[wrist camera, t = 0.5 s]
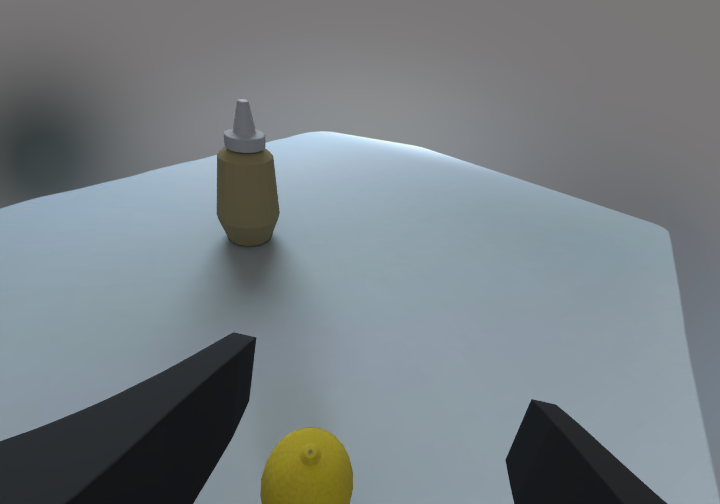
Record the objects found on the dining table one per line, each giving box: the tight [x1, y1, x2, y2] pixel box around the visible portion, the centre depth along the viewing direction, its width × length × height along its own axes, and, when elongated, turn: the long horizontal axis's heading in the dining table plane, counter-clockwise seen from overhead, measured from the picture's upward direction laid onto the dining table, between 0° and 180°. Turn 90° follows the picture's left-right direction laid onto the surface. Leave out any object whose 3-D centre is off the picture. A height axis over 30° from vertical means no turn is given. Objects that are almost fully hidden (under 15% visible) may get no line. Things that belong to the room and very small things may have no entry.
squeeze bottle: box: [217, 99, 280, 246], centre depth 44 cm, size 8×8×18 cm
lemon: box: [261, 427, 353, 504], centre depth 21 cm, size 6×6×8 cm
